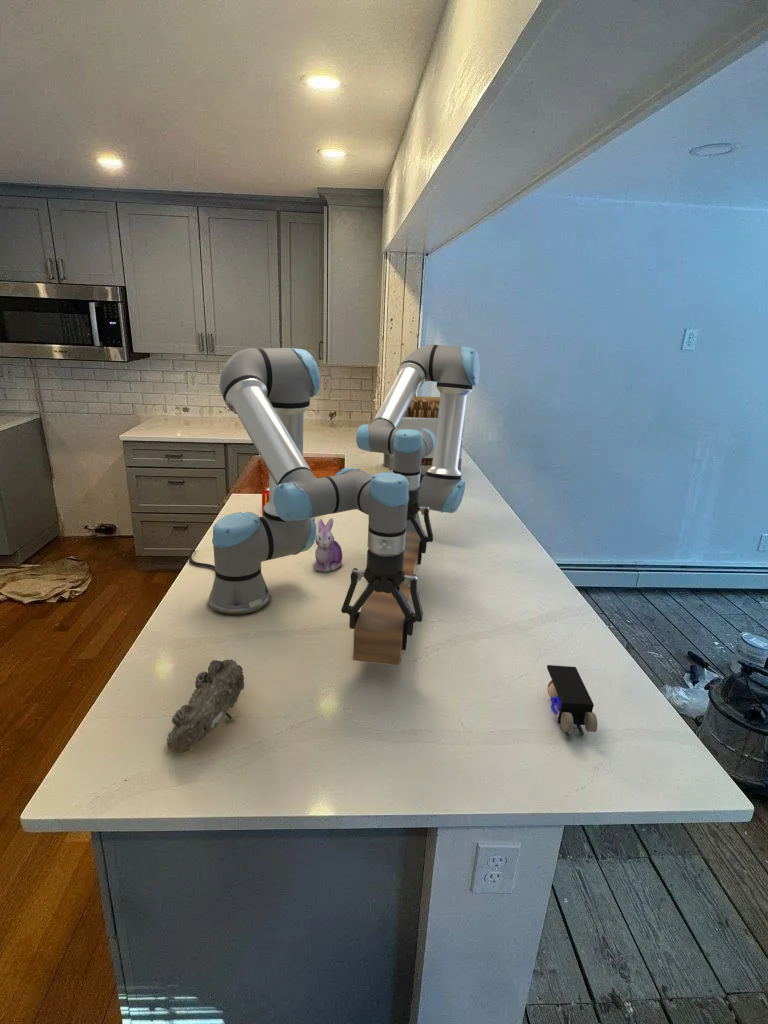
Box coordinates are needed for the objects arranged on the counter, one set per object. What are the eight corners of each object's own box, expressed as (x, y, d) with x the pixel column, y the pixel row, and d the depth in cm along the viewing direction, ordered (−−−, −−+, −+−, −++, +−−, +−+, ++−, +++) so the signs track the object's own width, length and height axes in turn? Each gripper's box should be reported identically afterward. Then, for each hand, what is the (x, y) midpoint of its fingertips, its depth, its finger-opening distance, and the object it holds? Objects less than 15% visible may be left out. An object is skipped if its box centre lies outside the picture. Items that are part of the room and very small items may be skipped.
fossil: (192, 660, 117) (244, 628, 112) (224, 691, 120) (276, 661, 115) (142, 746, 98) (202, 712, 93) (182, 779, 101) (242, 748, 96)
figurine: (319, 575, 166) (320, 527, 161) (307, 561, 175) (307, 516, 170) (349, 569, 170) (350, 523, 165) (336, 556, 179) (336, 512, 174)
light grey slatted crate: (382, 463, 289) (386, 382, 275) (445, 464, 293) (451, 384, 279) (390, 482, 257) (394, 392, 243) (460, 483, 261) (468, 394, 247)
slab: (387, 552, 169) (388, 529, 166) (419, 556, 168) (421, 532, 165) (353, 660, 117) (354, 629, 115) (399, 665, 116) (401, 634, 114)
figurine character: (595, 749, 106) (570, 690, 120) (603, 719, 103) (577, 662, 116) (559, 748, 106) (538, 690, 119) (567, 718, 103) (545, 662, 116)
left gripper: (327, 551, 112) (325, 647, 120) (440, 563, 110) (431, 660, 117) (335, 536, 119) (333, 628, 127) (442, 547, 116) (433, 640, 124)
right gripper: (362, 488, 152) (360, 563, 160) (446, 494, 150) (440, 570, 157) (367, 479, 159) (364, 552, 167) (447, 486, 157) (441, 559, 164)
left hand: (380, 643), depth 122 cm, fingers closed on slab, 10 cm apart
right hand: (401, 561), depth 162 cm, fingers closed on slab, 10 cm apart
